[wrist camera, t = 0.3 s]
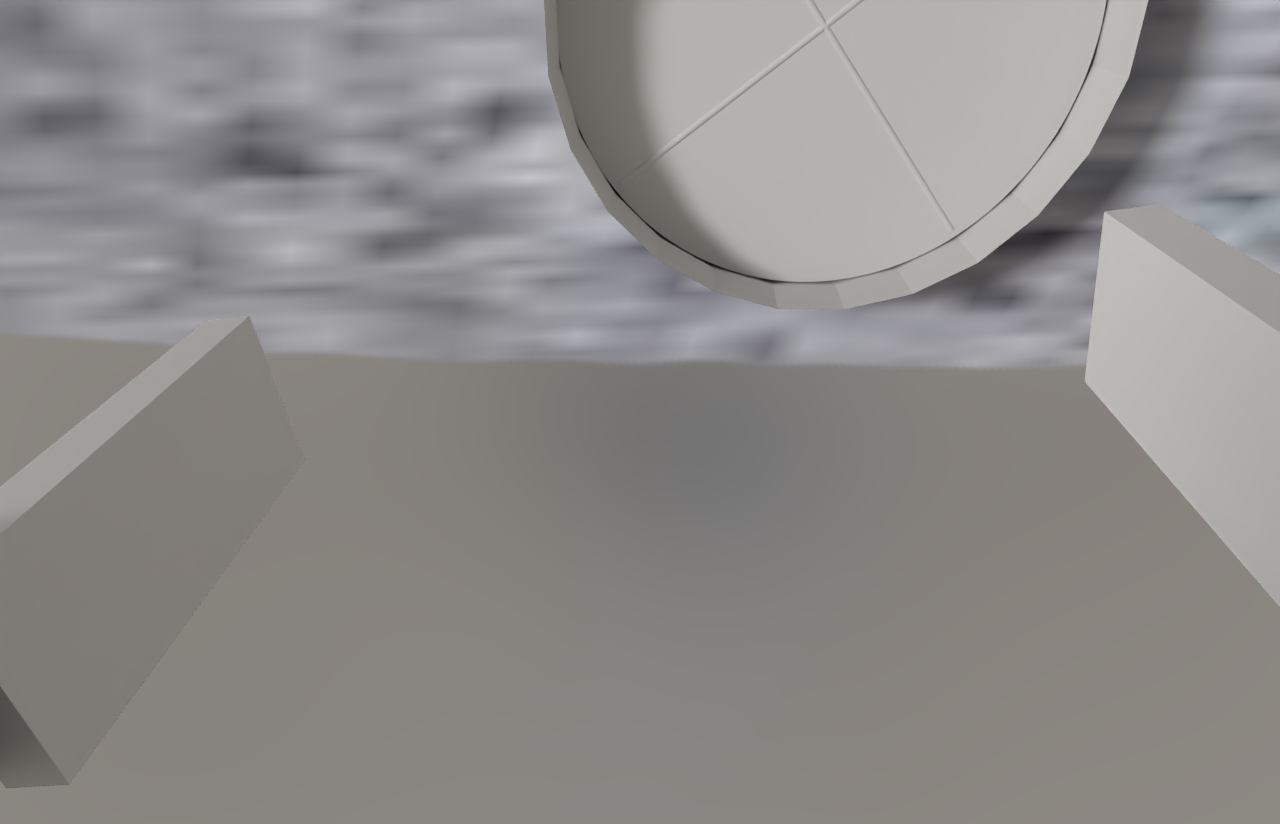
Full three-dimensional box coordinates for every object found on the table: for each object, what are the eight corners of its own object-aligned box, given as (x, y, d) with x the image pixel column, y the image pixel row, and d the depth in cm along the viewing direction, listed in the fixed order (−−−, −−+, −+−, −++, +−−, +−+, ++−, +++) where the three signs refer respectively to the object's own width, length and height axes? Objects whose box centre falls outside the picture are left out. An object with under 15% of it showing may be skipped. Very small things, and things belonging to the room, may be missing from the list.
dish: (1188, 76, 36) (1256, 96, 32) (750, 358, 44) (757, 405, 39) (927, -495, 28) (969, -572, 24) (447, -32, 36) (412, -27, 31)
